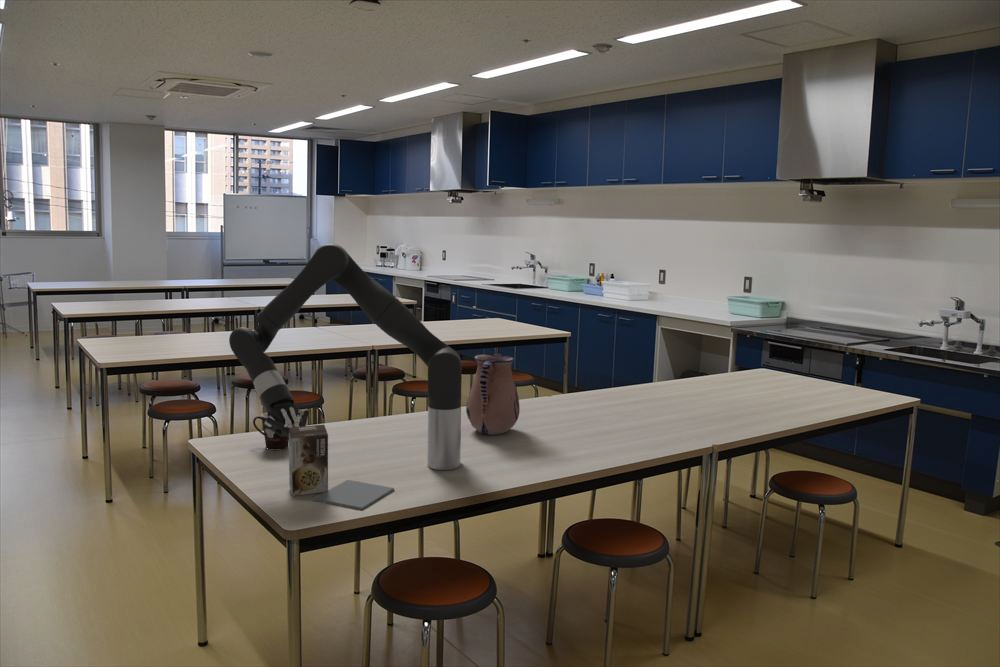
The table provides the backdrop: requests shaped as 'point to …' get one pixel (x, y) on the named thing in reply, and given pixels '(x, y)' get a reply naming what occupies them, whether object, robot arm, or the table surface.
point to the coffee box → (308, 459)
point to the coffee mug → (271, 435)
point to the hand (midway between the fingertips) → (300, 446)
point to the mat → (354, 494)
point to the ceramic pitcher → (493, 395)
